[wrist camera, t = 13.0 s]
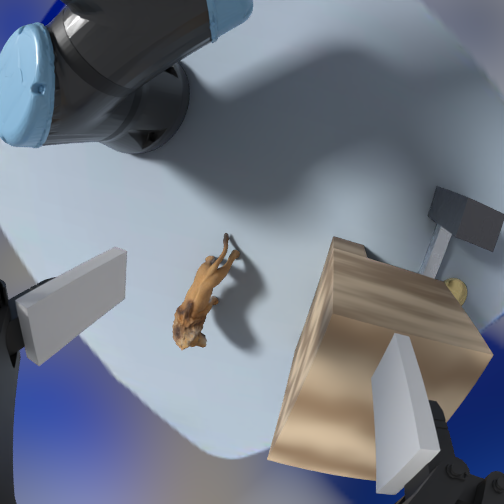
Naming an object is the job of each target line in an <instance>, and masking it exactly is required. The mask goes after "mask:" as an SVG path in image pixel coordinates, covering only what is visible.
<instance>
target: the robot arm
mask: <svg viewBox="0 0 504 504" xmlns="http://www.w3.org/2000/svg"><path fill="white" fill-rule="evenodd" d="M61 1H62V2H64V3H65V4H66V5H67V6H66V7H65V8H64V9H63V10H62V11H61V12H60V13H59V14H58V15H57V16H56V17H55V18H54V19H53V20H52V21H51V22H50V23H49V24H48V25H47V26H44V25H43V24H41V23H34V24H28V25H27V26H22V27H20V28H19V29H18V30H16V31H15V32H14V33H13V35H12V36H11V37H10V38H9V40H8V41H7V42H6V44H5V46H4V48H3V50H2V52H1V54H0V138H1V139H2V140H3V141H4V142H5V143H8V144H9V145H11V146H14V147H32V148H39V147H41V146H45V145H56V144H68V143H83V142H100V143H102V144H104V145H106V146H108V147H110V148H112V149H114V150H116V151H119V152H123V153H144V152H149V151H152V150H154V149H156V148H158V147H160V146H162V145H163V144H164V143H166V142H167V141H168V140H169V139H170V138H171V137H172V136H173V135H174V134H175V133H176V131H177V130H178V128H179V127H180V125H181V123H182V121H183V119H184V117H185V114H186V111H187V108H188V103H189V84H188V80H187V77H186V74H185V72H184V70H183V68H182V67H181V65H180V64H179V63H178V62H179V61H180V60H182V59H183V58H185V57H187V56H188V55H190V54H192V53H193V52H195V51H197V50H198V49H200V48H202V47H203V46H205V45H207V44H209V43H210V42H212V43H214V42H216V41H217V39H218V37H220V36H221V35H223V34H225V33H226V32H228V31H230V30H231V29H233V28H235V27H237V26H238V25H240V24H242V23H243V22H245V21H246V20H247V19H248V18H249V17H250V15H251V13H252V10H253V0H61ZM126 263H127V251H126V250H123V249H120V248H118V247H114V248H112V249H110V250H108V251H106V252H104V253H102V254H100V255H98V256H96V257H94V258H92V259H90V260H88V261H86V262H84V263H82V264H80V265H78V266H76V267H74V268H73V269H71V270H69V271H67V272H65V273H63V274H61V275H59V276H58V277H54V278H50V279H46V280H44V281H42V282H40V283H38V284H37V285H35V286H33V287H31V288H30V289H27V290H25V291H24V292H22V293H20V294H18V295H16V296H15V297H13V298H11V299H10V300H8V295H7V289H6V284H5V282H4V281H2V280H0V504H16V500H15V496H14V484H13V483H14V482H13V424H14V423H13V422H14V407H15V397H16V387H17V379H18V371H19V364H20V351H19V350H20V349H22V348H23V347H24V346H25V350H26V354H27V358H29V359H30V360H31V361H33V362H34V363H35V364H37V365H38V366H40V365H41V364H43V363H44V362H45V361H46V360H47V359H49V358H50V357H51V356H52V355H53V354H55V353H56V352H57V351H59V350H60V349H61V348H62V347H64V346H65V345H66V344H67V343H69V342H70V341H71V340H72V339H74V338H75V337H76V336H77V335H79V334H80V333H81V332H83V331H84V330H85V329H86V328H88V327H89V326H90V325H92V324H93V323H94V322H95V321H97V320H98V319H99V318H101V317H102V316H103V315H104V314H106V313H107V312H108V311H110V310H111V309H112V308H114V307H115V306H116V305H117V304H119V303H120V302H121V301H123V300H124V299H125V285H126ZM371 384H372V395H373V408H374V423H375V444H376V493H381V494H393V495H395V494H396V493H398V492H399V491H400V490H401V489H402V488H403V487H404V488H405V496H404V497H402V498H401V499H400V500H399V501H397V502H396V503H395V504H504V474H503V473H501V472H498V471H495V472H491V473H490V474H489V475H488V476H487V477H486V478H485V479H483V478H480V477H477V476H474V475H471V474H470V472H469V468H468V467H467V465H466V464H465V463H464V462H463V461H462V460H461V459H459V458H457V457H455V454H454V450H453V446H452V442H451V438H450V434H449V431H448V430H447V429H448V427H447V423H446V422H445V421H446V419H445V416H444V412H443V410H442V408H441V407H440V406H439V404H438V403H437V401H432V400H428V397H427V393H426V390H425V386H424V383H423V379H422V376H421V372H420V369H419V366H418V362H417V359H416V356H415V353H414V350H413V347H412V344H411V341H410V338H409V336H405V335H401V334H397V333H394V335H393V337H392V339H391V341H390V343H389V345H388V347H387V349H386V351H385V353H384V355H383V357H382V359H381V361H380V363H379V365H378V367H377V368H376V370H375V372H374V374H373V376H372V377H371Z"/></svg>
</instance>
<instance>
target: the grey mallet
mask: <svg viewBox="0 0 504 504" xmlns="http://www.w3.org/2000/svg"><path fill="white" fill-rule="evenodd" d="M428 217H429V218H431V219H432V220H434V221H435V222H436V223H437V226H436V228H435V231H434V234H433V237H432V240H431V243H430V245H429V248H428V251H427V253H426V256H425V259H424V261H423V264H422V266H421V269H420V271H419V274H421V275H424V276H427V277H430V278H433V279H435V276H436V274H437V272H438V269H439V267H440V264H441V262H442V259H443V256H444V254H445V251H446V249H447V246H448V243H449V240H450V238H451V235H454V236H455V237H457V238H460V239H462V240H465V241H467V242H470V243H472V244H475V245H477V246H480V247H482V248H484V249H487V250H489V251H492V252H493V250H494V247H495V245H496V242H497V239H498V236H499V233H500V230H501V227H502V224H503V221H504V214H503V213H501V212H499V211H496V210H494V209H492V208H490V207H488V206H486V205H484V204H481V203H479V202H477V201H475V200H473V199H470V198H468V197H465V196H463V195H460V194H458V193H455V192H452V191H450V190H447V189H444V188H441V187H438V186H437V187H436V191H435V194H434V198H433V201H432V204H431V207H430V211H429V214H428Z"/></svg>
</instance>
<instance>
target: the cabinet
mask: <svg viewBox="0 0 504 504" xmlns="http://www.w3.org/2000/svg"><path fill="white" fill-rule="evenodd" d="M394 333H397V334H401V335H405V336H409V338H410V341H411V344H412V347H413V350H414V353H415V356H416V359H417V362H418V366H419V369H420V372H421V376H422V379H423V383H424V386H425V390H426V393H427V397H428V400H432V401H437V403H438V404H439V406H440V407H441V408H442V410H443V412H444V416H445V419H446V421H445V422H446V423H447V421H448V420H449V419H450V417H451V416H452V415H453V414H454V412H455V411H456V410H457V408H458V407H459V406H460V404H461V403H462V402H463V400H464V399H465V397H466V396H467V395H468V393H469V392H470V390H471V389H472V387H473V386H474V385H475V383H476V382H477V380H478V378H479V377H480V376H481V374H482V372H483V371H484V369H485V368H486V366H487V364H488V363H489V361H490V360H491V358H492V356H493V354H492V352H491V350H490V349H489V347H488V345H487V344H486V342H485V341H484V339H483V338H482V336H481V334H480V333H479V331H478V330H477V328H476V327H475V325H474V324H473V322H472V321H471V319H470V318H469V317H468V315H467V314H466V312H465V311H464V309H463V308H462V306H461V305H460V304H459V302H458V301H457V299H456V298H455V297H454V295H453V294H452V293H451V291H450V290H449V288H448V287H447V286H446V284H445V283H444V282H443V281H440V280H437V279H433V278H430V277H427V276H424V275H421V274H418V273H415V272H411V271H408V270H405V269H402V268H398V267H395V266H392V265H389V264H386V263H382V262H379V261H376V260H372V259H369V258H367V255H366V252H365V248H364V245H361V244H358V243H354V242H351V241H348V240H344V239H341V238H338V237H334V236H333V239H332V242H331V246H330V249H329V252H328V255H327V259H326V262H325V265H324V268H323V271H322V274H321V277H320V281H319V284H318V287H317V290H316V293H315V296H314V299H313V302H312V305H311V307H310V310H309V313H308V316H307V319H306V322H305V325H304V327H303V330H302V333H301V336H300V339H299V341H298V344H297V347H296V350H295V353H294V357H293V362H292V366H291V370H290V374H289V378H288V383H287V387H286V391H285V395H284V399H283V403H282V407H281V411H280V414H279V418H278V422H277V426H276V430H275V433H274V437H273V441H272V444H271V448H270V451H269V455H268V458H267V460H271V461H274V462H278V463H282V464H286V465H290V466H295V467H299V468H303V469H308V470H313V471H317V472H323V473H328V474H334V475H339V476H345V477H352V478H359V479H367V480H374V481H376V444H375V423H374V408H373V395H372V384H371V377H372V376H373V374H374V372H375V370H376V368H377V367H378V365H379V363H380V361H381V359H382V357H383V355H384V353H385V351H386V349H387V347H388V345H389V343H390V341H391V339H392V337H393V335H394Z"/></svg>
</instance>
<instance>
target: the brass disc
mask: <svg viewBox="0 0 504 504" xmlns="http://www.w3.org/2000/svg"><path fill="white" fill-rule="evenodd" d="M444 283H445V284H446V286H447V287H448V288H449V290H450V291H451V293H452V294H453V295H454V297H455V298H456V299H457V301H458V302H459V304H460V305H461V306H462V305H463V303H464V302H465V300H466V297H467V288H466V285H465V284H464V283H463V282H462V281H461V280H460V279H458V278H449V279H447V280H445V281H444Z"/></svg>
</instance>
